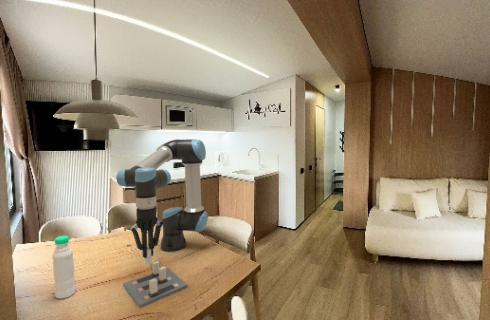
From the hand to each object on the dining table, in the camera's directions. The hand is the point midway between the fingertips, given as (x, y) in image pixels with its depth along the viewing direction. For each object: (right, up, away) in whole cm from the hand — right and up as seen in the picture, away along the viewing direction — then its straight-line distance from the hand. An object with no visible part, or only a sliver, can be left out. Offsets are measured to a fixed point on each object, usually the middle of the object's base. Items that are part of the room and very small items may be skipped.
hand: (148, 264), depth 104 cm
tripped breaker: (+1, -13, +3) cm, 14 cm away
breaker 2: (+2, -12, +13) cm, 18 cm away
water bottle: (-37, -15, +5) cm, 40 cm away
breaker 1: (-3, -12, +18) cm, 22 cm away
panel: (-1, -14, +11) cm, 18 cm away
